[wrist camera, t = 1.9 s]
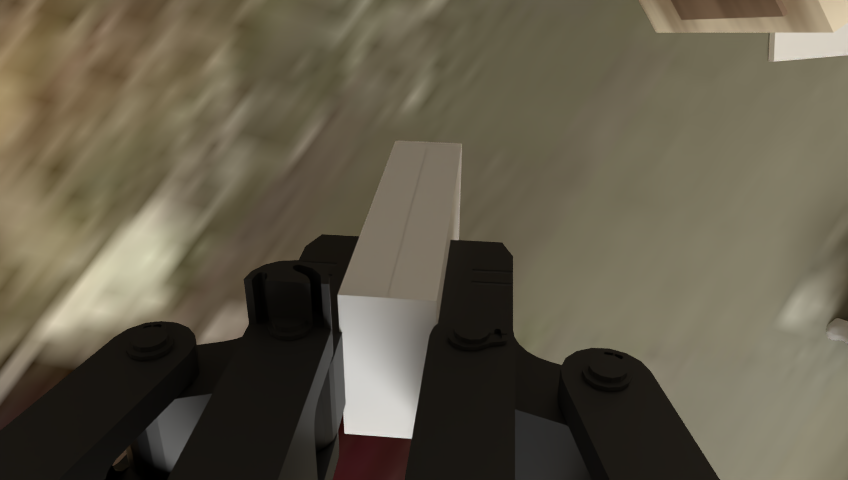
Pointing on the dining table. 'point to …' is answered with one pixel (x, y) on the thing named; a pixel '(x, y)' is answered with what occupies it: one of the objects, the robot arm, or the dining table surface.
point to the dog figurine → (838, 330)
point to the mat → (808, 45)
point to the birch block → (746, 16)
